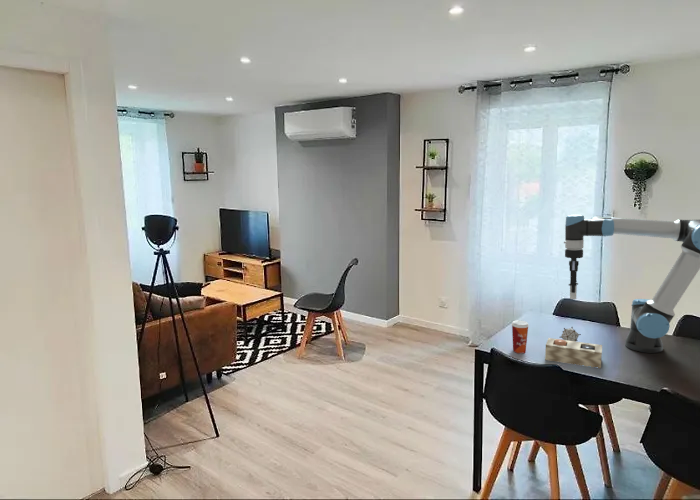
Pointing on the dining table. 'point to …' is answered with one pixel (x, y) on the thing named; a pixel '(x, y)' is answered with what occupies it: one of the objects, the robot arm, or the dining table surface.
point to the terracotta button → (560, 342)
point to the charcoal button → (587, 347)
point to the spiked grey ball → (570, 334)
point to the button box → (574, 353)
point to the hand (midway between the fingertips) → (573, 298)
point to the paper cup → (519, 336)
